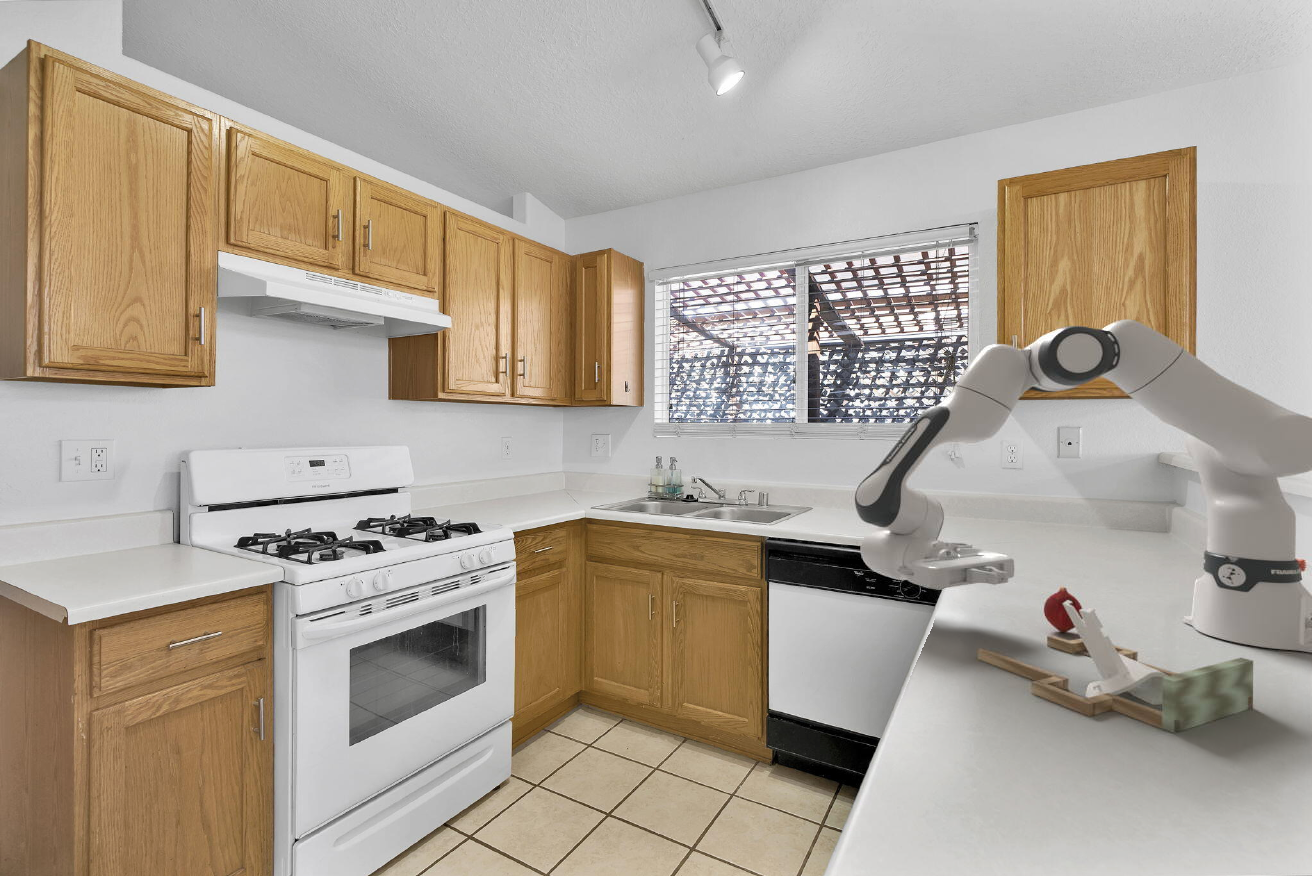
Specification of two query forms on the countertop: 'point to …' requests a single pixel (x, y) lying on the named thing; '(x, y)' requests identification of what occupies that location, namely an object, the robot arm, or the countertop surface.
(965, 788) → the countertop surface
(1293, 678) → the countertop surface
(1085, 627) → the plastic part
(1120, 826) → the countertop surface
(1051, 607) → the onion
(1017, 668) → the trap lane
